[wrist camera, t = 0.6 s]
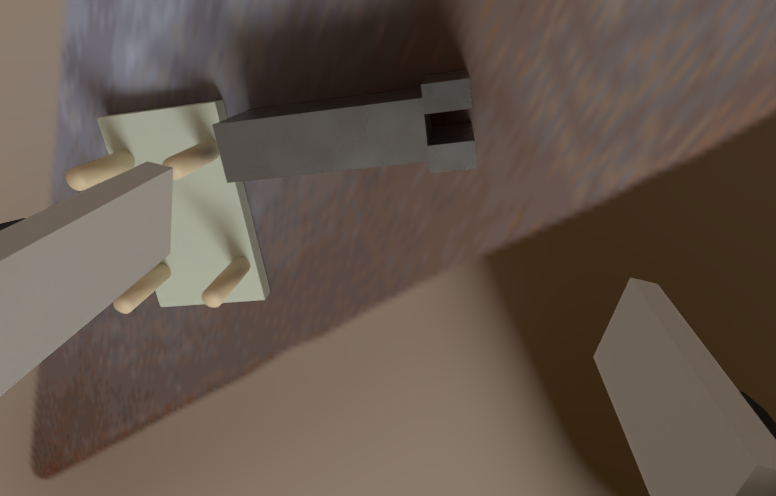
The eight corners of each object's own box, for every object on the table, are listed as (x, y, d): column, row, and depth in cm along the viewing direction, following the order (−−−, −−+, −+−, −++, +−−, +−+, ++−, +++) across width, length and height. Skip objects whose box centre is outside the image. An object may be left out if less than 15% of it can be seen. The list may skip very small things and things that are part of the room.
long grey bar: (263, 169, 43) (230, 194, 36) (247, 99, 41) (209, 112, 34) (473, 145, 40) (476, 168, 34) (467, 69, 38) (470, 78, 32)
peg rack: (108, 115, 42) (41, 132, 36) (222, 99, 41) (176, 114, 34) (169, 299, 49) (122, 343, 42) (270, 291, 47) (239, 337, 40)
